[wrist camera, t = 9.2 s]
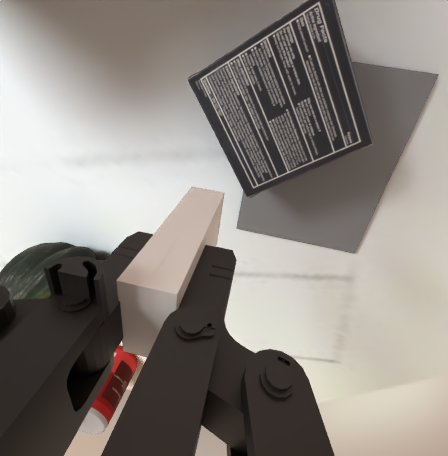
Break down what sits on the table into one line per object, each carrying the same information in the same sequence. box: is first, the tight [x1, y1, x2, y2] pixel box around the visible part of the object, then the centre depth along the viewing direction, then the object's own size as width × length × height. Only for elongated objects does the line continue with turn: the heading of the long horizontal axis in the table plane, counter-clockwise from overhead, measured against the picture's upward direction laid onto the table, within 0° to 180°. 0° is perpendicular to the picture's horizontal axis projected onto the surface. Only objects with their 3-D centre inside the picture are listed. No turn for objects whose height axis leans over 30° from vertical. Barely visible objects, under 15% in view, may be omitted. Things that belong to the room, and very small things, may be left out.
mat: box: [237, 62, 439, 253], centre depth 26 cm, size 14×18×1 cm
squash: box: [0, 242, 104, 299], centre depth 35 cm, size 14×15×15 cm
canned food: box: [78, 346, 137, 434], centre depth 45 cm, size 8×8×11 cm
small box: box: [188, 0, 373, 198], centre depth 22 cm, size 11×6×10 cm
